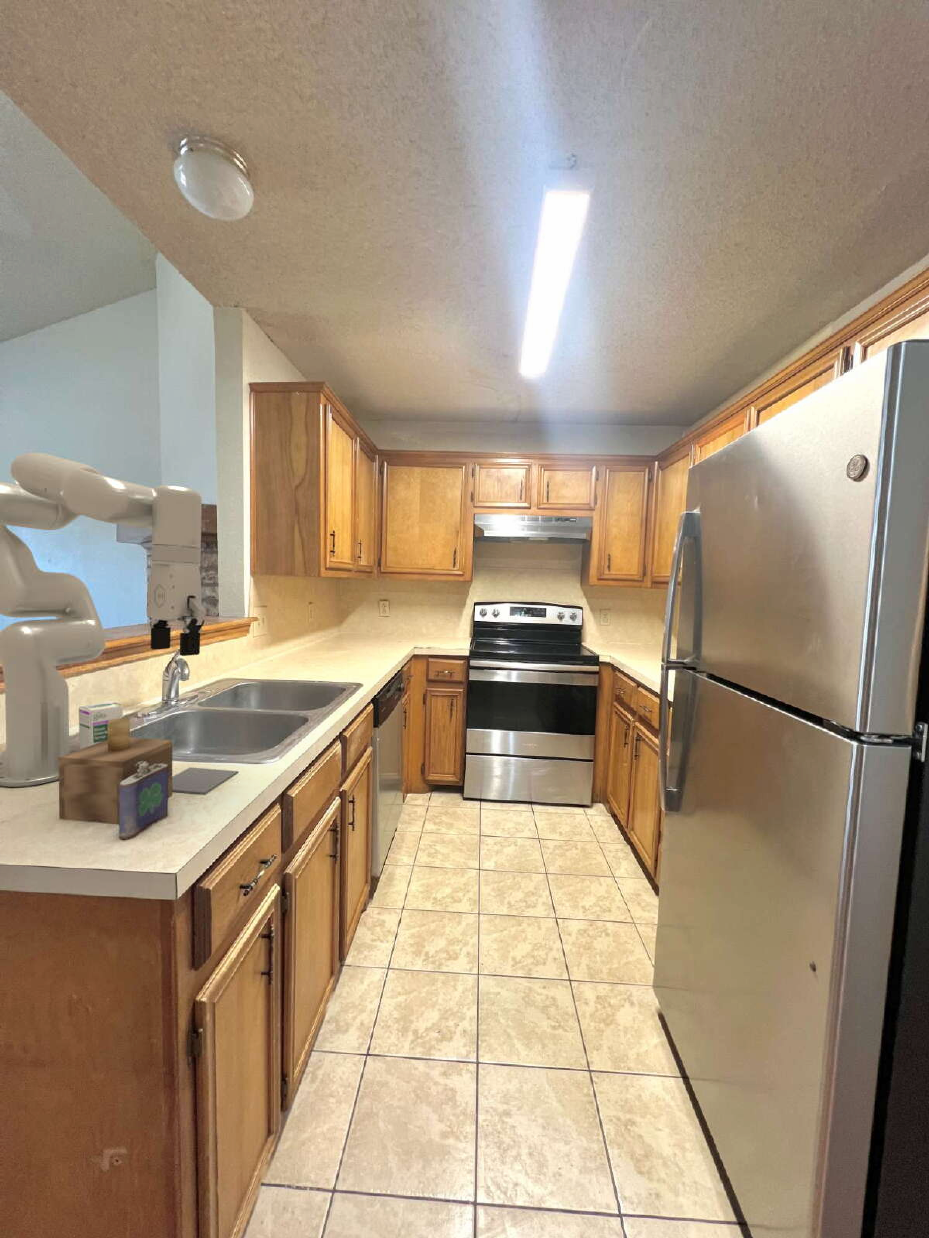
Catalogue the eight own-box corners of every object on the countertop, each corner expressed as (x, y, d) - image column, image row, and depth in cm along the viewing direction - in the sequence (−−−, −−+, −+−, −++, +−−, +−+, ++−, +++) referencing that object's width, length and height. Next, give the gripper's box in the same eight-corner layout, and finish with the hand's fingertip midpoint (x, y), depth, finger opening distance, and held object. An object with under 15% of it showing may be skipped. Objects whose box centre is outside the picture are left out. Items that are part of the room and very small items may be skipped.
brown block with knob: (59, 818, 80) (58, 727, 79) (116, 790, 91) (115, 710, 90) (122, 824, 78) (122, 732, 78) (172, 794, 90) (172, 714, 89)
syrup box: (91, 781, 95) (90, 709, 94) (79, 774, 98) (78, 705, 97) (124, 772, 99) (123, 704, 99) (111, 766, 102) (110, 700, 102)
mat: (151, 790, 92) (151, 788, 92) (189, 769, 103) (189, 767, 102) (205, 794, 91) (205, 792, 91) (238, 772, 101) (238, 771, 101)
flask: (129, 841, 74) (128, 773, 73) (112, 839, 74) (111, 771, 73) (172, 813, 83) (172, 753, 82) (157, 812, 83) (157, 752, 82)
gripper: (129, 554, 86) (128, 648, 87) (181, 556, 78) (179, 659, 79) (172, 558, 93) (170, 645, 94) (225, 559, 84) (222, 655, 85)
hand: (174, 651), depth 86 cm, fingers open, 9 cm apart
